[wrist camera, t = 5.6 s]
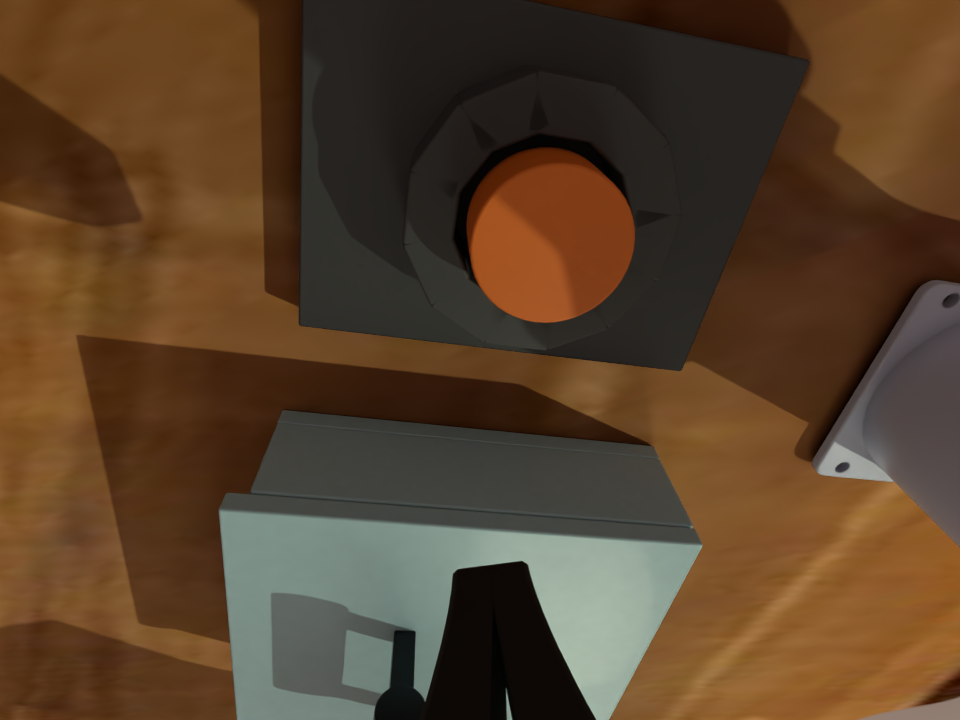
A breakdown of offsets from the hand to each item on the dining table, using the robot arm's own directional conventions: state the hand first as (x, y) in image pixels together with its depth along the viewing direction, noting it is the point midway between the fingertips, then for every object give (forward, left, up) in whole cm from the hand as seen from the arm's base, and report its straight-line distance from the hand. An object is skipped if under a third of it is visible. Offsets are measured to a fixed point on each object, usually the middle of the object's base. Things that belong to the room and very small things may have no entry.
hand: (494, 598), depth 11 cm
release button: (-1, -6, -6) cm, 8 cm away
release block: (-1, -5, -9) cm, 10 cm away
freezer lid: (0, +10, -5) cm, 11 cm away
